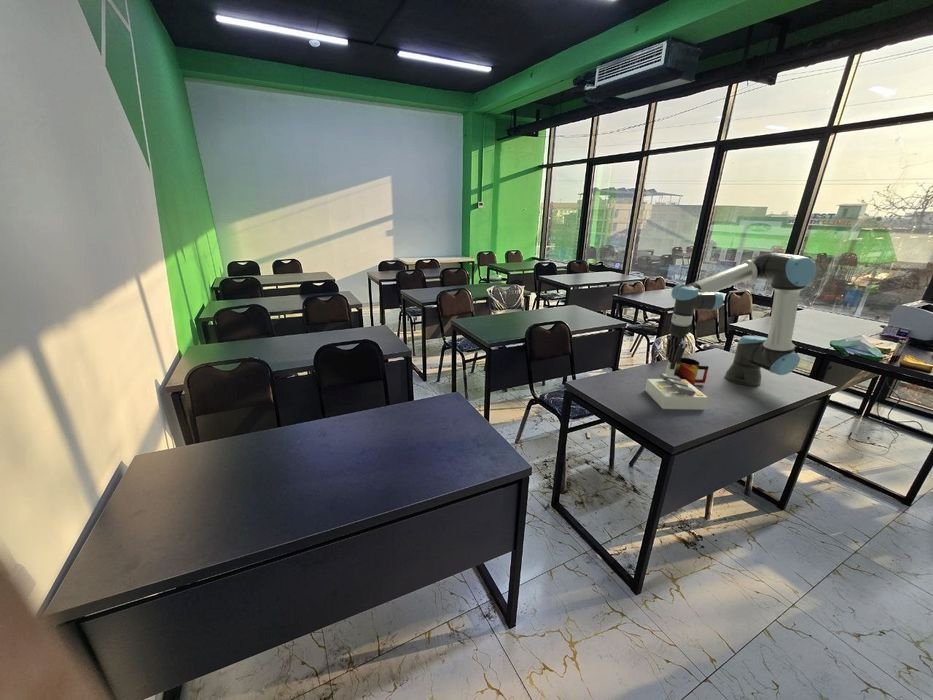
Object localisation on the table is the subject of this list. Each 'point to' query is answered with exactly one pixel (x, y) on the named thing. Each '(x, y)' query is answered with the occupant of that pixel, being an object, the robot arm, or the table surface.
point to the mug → (690, 370)
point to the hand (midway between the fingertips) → (669, 374)
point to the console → (674, 395)
